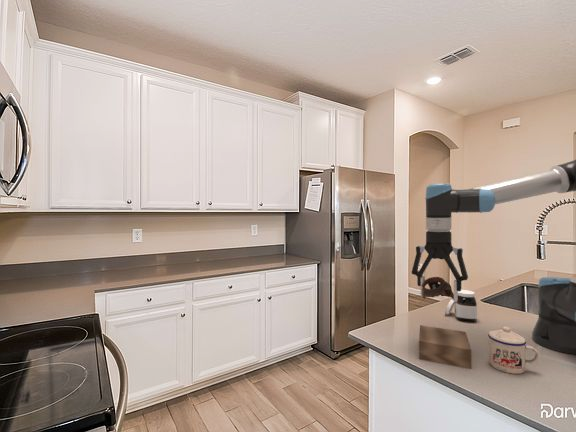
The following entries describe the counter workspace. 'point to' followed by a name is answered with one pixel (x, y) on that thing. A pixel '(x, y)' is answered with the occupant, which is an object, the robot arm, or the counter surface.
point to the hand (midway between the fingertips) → (438, 298)
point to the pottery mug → (436, 288)
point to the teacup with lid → (508, 351)
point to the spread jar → (464, 306)
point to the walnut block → (444, 346)
